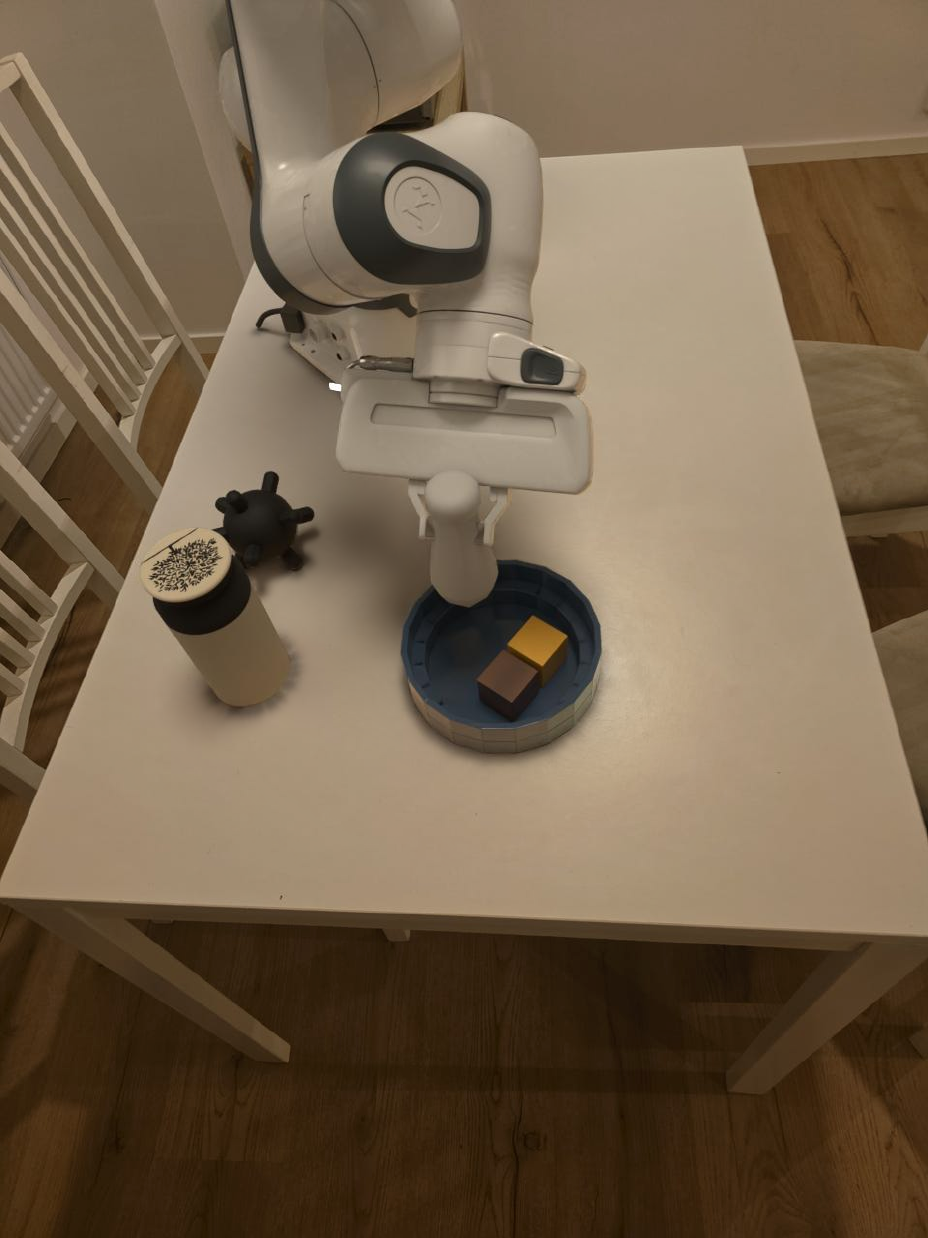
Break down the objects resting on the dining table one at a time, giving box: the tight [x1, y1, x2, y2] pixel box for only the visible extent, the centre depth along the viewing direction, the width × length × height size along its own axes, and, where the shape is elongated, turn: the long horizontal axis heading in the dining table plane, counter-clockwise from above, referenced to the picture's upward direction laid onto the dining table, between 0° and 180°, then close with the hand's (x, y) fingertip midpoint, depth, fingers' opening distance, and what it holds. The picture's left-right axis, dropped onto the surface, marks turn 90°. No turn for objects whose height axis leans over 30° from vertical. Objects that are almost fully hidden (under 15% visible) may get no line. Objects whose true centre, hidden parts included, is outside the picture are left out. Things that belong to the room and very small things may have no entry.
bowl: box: [400, 559, 603, 754], centre depth 76 cm, size 18×18×6 cm
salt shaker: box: [424, 470, 498, 607], centre depth 65 cm, size 6×6×13 cm
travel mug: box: [139, 527, 291, 708], centre depth 73 cm, size 8×8×18 cm
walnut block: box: [477, 649, 539, 722], centre depth 74 cm, size 4×4×4 cm
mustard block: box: [507, 615, 568, 687], centre depth 76 cm, size 4×4×4 cm
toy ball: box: [210, 470, 315, 570], centre depth 85 cm, size 11×11×12 cm
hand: (456, 541), depth 65 cm, fingers closed on salt shaker, 3 cm apart
